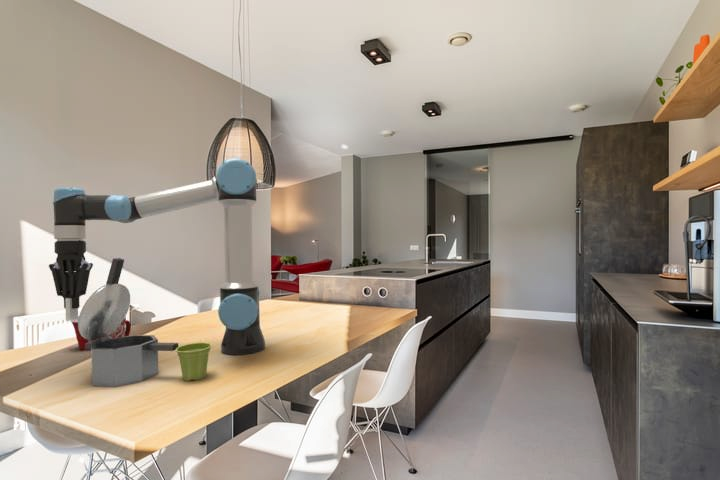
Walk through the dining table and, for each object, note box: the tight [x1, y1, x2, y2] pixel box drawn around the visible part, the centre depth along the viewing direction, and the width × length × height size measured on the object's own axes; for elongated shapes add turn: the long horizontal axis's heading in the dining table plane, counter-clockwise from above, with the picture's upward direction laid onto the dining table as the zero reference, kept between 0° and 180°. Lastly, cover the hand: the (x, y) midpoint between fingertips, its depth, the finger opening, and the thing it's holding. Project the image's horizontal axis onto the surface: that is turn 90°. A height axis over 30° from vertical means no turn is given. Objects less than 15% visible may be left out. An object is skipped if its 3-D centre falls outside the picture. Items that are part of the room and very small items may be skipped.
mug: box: [106, 316, 132, 340], centre depth 132 cm, size 13×9×14 cm
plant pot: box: [175, 342, 212, 382], centre depth 111 cm, size 9×9×9 cm
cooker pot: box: [85, 334, 179, 388], centre depth 113 cm, size 28×16×10 cm, turn 81°
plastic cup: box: [70, 315, 91, 351], centre depth 145 cm, size 11×11×12 cm
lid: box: [78, 257, 131, 344], centre depth 114 cm, size 25×17×3 cm
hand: (72, 319), depth 116 cm, fingers closed
